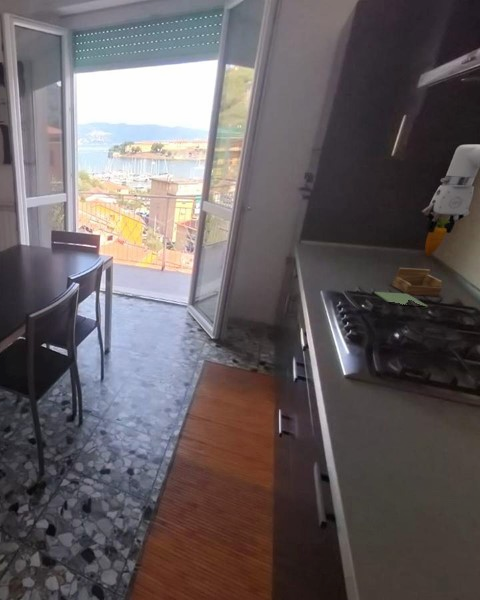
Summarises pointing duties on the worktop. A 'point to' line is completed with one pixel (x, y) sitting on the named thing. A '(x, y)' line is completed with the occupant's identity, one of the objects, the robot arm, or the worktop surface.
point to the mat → (398, 298)
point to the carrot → (435, 237)
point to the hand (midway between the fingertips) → (437, 231)
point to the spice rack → (417, 282)
